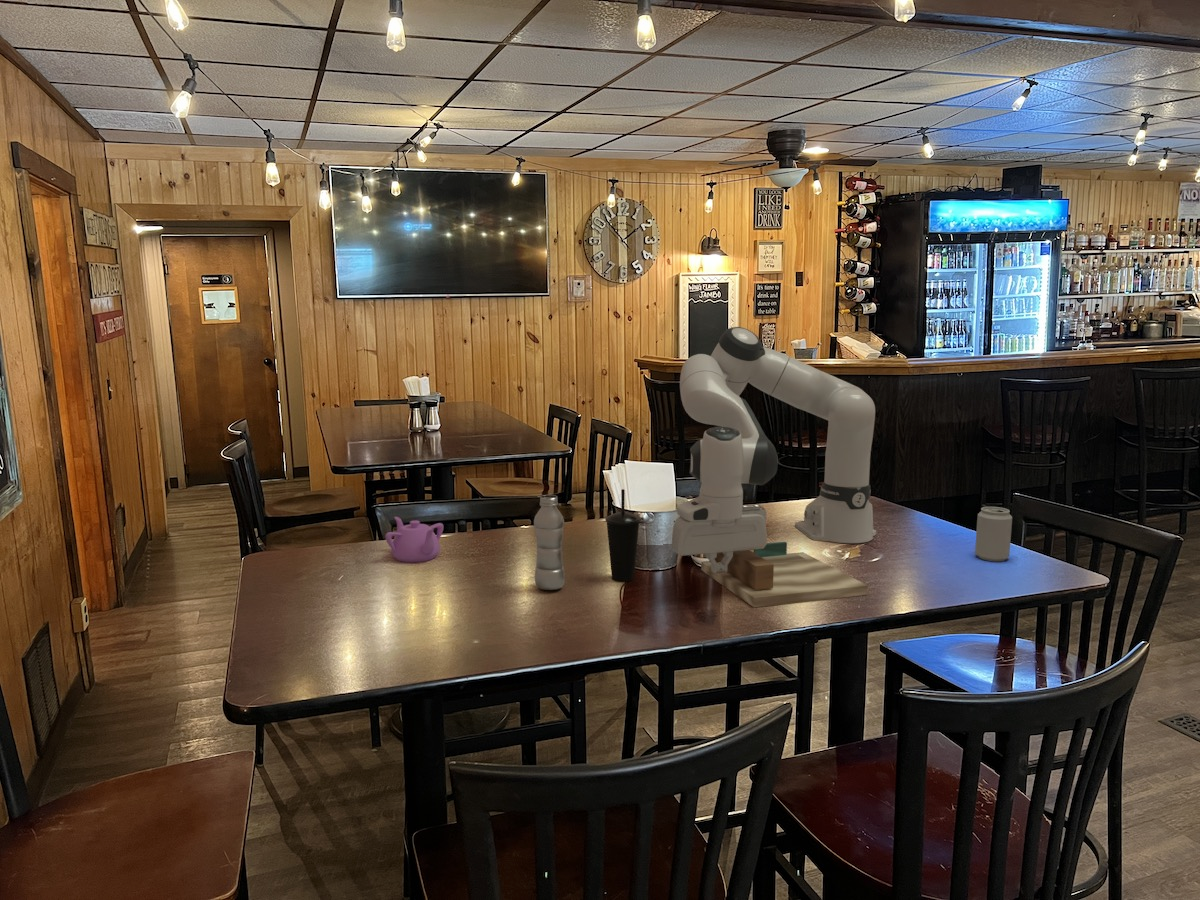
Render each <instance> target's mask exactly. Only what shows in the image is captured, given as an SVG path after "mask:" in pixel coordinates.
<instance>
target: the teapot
mask: <svg viewBox="0 0 1200 900" xmlns="http://www.w3.org/2000/svg"><path fill="white" fill-rule="evenodd" d="M394 520H395V522H396V531H388V532H387V533H385V535H384V538H385V541H386V543H387V545H388V546H389V548H390V553H391V556H393V558H395V560H397V561H399V562H402V563H411V564H412V563H425V562H427V561H428V562H429V561H432V560H434V559H435V558H436V557H437V556H438V554H439V553H440V551H441V546H440V542H439V541H440V539H441V537H442V535H443V533H444V532H443V531H444V524H443V523H442V522H438V523H434V524H432V525H430V526H429V525H428V524H426V523H421V522H420V520H411V521H409V524H404V523H403V521H402V519H401V518H400V517H399V516H394ZM436 528H437V530H436V531H437V532H436V534H435V532H434V531H435V529H436ZM393 537H394V538H393ZM392 538H393V539H392Z"/></svg>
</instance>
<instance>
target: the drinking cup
mask: <svg viewBox="0 0 1200 900" xmlns="http://www.w3.org/2000/svg"><path fill="white" fill-rule="evenodd" d="M625 492H626V491H625V489H624V488H623V489H621V498H620V499H621V505H620V507H621V511H620V512H615V513H612V514H610V515H608V516H606V517H605V519H604V520H605V522H606V530H607V540H608V551H609V560H610V572H611V573H610V574H611V580H613V581H615V582H619V583H620V582H622V583H627V582H631V581H633V580H634V578H635V570H636V569H635V568H636V557H637V550H638V549H637V545H638V537H639V536H638V535H639V527H640V522H641V517H640V516H638V515H635V514H634V513H631V512H626V511H625V500H626V499H625V496H626V495H625Z"/></svg>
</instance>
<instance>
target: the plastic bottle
mask: <svg viewBox="0 0 1200 900" xmlns="http://www.w3.org/2000/svg"><path fill="white" fill-rule="evenodd" d="M539 500H540V501H539V506H540V508H539V510H538V511H537V513H535V516H534V519H533V525H534V526H533V527H534V532H535V539H536V540H535V541H536V542H535V543H536V563H535V564H536V565H535V570H534V581H535V582H534V583H535V585H536V587H537V588H538V589H540V590H543V591H544V590H545V591H556V590H559V589H561V588H562V587H563V586H564V585H565V580H566V573H565V567H564V562H563V561H564V560H563V534H564V525H565V520H564V519H565V518H564V516H563V514H562V513H561V512H560V510H559V509H558V506H559V502H558V496H557V495H555V494H543V495H540V497H539Z"/></svg>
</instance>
